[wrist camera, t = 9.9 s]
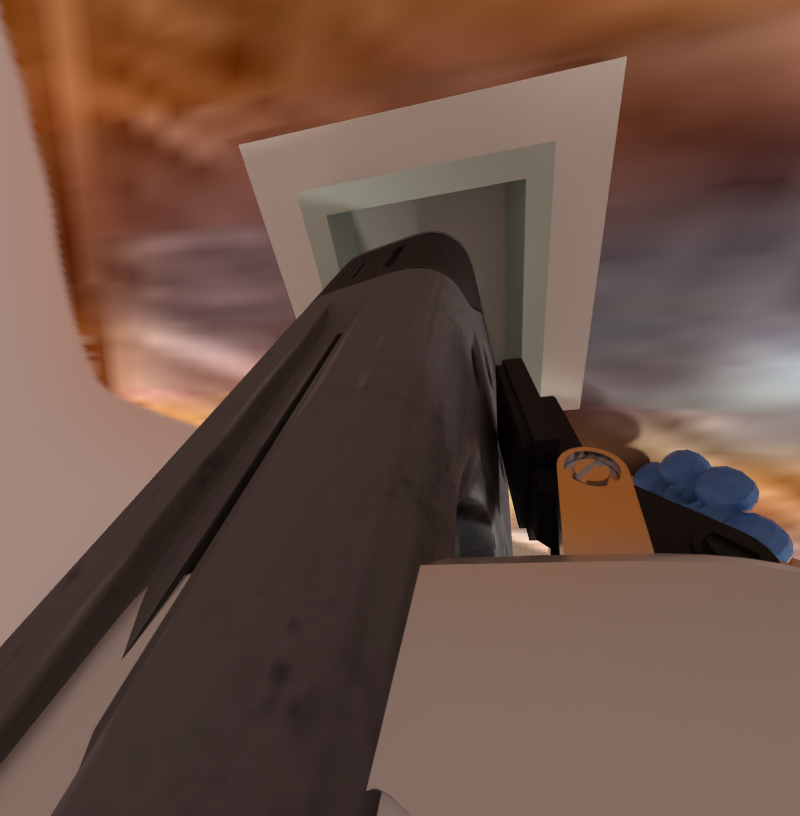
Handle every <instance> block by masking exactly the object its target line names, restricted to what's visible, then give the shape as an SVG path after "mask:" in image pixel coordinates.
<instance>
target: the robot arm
mask: <svg viewBox="0 0 800 816" xmlns="http://www.w3.org/2000/svg"><path fill="white" fill-rule="evenodd" d="M496 405H497V438H498V444H499V448H500V453H501V457H502V461H503V465H504V469H505V473H506V477H507V481H508V485H509V489H510V494H511V498H512V502H513V506H514V510H515V514H516V518H517V522H518V526H519V528H526V529H527V533H528V537H529V540H538V541H539V542H541V543H543V544H544V545H546V546H547V547H549V549H548V555H540V556H503V557H467V558H445V559H442V560H438V561H435V562H432V563H428V564H424V565H420V569H419V573H418V577H417V581H416V585H415V589H414V593H413V598H412V602H411V606H410V610H409V614H408V618H407V623H406V627H405V631H404V635H403V639H402V643H401V647H400V651H399V656H398V660H397V664H396V668H395V672H394V676H393V680H392V685H391V689H390V693H389V697H388V702H387V706H386V710H385V715H384V719H383V723H382V727H381V732H380V736H379V740H378V744H377V748H376V752H375V756H374V760H373V764H372V769H371V773H370V777H369V781H368V785H367V789H366V791H370V790H375V791H378V792H381V797H380V802H379V807H378V812H377V816H800V560H797V559H794V558H792V559H791V560H790V562H789V563H786V562H784V561H781V560H779V559H778V558H777V557H776V556H775V555H774V554H773V553H772V552H771V550H770V549H769V548H768V547H766V546H765V545H764V544H762V543H761V542H760V541H758V540H757V539H756V538H754V537H752V536H750V535H748V534H746V533H744V532H742V531H740V530H738V529H736V528H733V527H731V526H729V525H726V524H724V523H722V522H719V521H717V520H715V519H712V518H710V517H708V516H705V515H703V514H701V513H698V512H696V511H694V510H691V509H689V508H687V507H684V506H682V505H680V504H677V503H675V502H673V501H671V500H668V499H666V498H664V497H661V496H659V495H657V494H654V493H652V492H650V491H647V490H645V489H643V488H640V487H638V486H636V485H633V481H632V478H631V475H630V472H629V469H628V468H627V466H626V464H625V463H624V462H623V461H622V460H621V459H620V458H619V457H618V456H616V455H614V454H612V453H610V452H608V451H605V450H602V449H599V448H593V447H583V446H582V445H581V443H580V441H579V439H578V437H577V435H576V434H575V432H574V430H573V428H572V426H571V425H570V423H569V421H568V419H567V417H566V415H565V414H564V412H563V410H562V408H561V406H560V404H559V403H558V401H557V399H556V398H555V396H545V397H540V395H539V393H538V391H537V389H536V387H535V384H534V382H533V380H532V378H531V376H530V374H529V372H528V370H527V368H526V366H525V364H524V362H523V360H522V358H514V359H505V360H502V365H496ZM192 573H193V572H192ZM192 573H189V574H186V575H184V576H183V578H182V579H181V581H180V582H179V583H178V585H177V586H176V588H175V589H174V590H173V592H172V593H171V594H170V596H169V597H168V599H167V600H166V601H165V603H164V604H163V606H162V607H161V608H160V610H159V611H158V612H157V614H156V615H155V617H154V618H153V619H152V621H151V622H150V624H149V625H148V626H147V628H146V629H145V630H144V632H143V633H142V635H141V636H140V637H139V639H138V640H137V642H136V643H135V644H134V646H133V647H132V648H131V649H130V651H129V652H128V653H127V654H126V655H125V657H124V658H123V659H122V657H123V654H124V652H125V649H126V646H127V643H128V640H129V637H130V634H131V631H132V628H133V626H134V623H135V620H136V617H137V614H138V611H139V608H140V605H141V603H142V600H143V598H144V595H145V593H146V591H147V588H148V587H147V588H146V589H145V590H144V591H143V592H142V593H141V594H140V595H139V596H138V597H136V598H135V599H134V600H133V602H132V603H131V604H130V605H129V606H128V607H127V608H126V610H125V611H124V612H123V613H122V614H121V616H120V617H119V618H118V619H117V621H116V622H115V623H114V624H113V625H112V627H111V628H110V629H109V630H108V631H107V633H106V634H105V635H104V636H103V638H102V639H101V640H100V641H99V642H98V644H97V645H96V646H95V647H94V649H93V650H92V651H91V652H90V654H89V655H88V656H87V657H86V659H85V660H84V661H83V662H82V664H81V665H80V666H79V667H78V669H77V670H76V671H75V672H74V674H73V675H72V676H71V677H70V679H69V680H68V681H67V682H66V684H65V685H64V686H63V687H62V688H61V690H60V691H59V692H58V693H57V695H56V696H55V697H54V698H53V700H52V701H51V702H50V703H49V705H48V706H47V707H46V708H45V710H44V711H43V712H42V713H41V715H40V716H39V717H38V718H37V720H36V721H35V722H34V723H33V725H32V726H31V727H30V728H29V730H28V731H27V732H26V733H25V734H24V736H23V737H22V738H21V739H20V741H19V742H18V743H17V744H16V746H15V747H14V748H13V749H12V751H11V752H10V753H9V754H8V756H7V757H6V758H5V759H4V761H3V762H2V763H1V764H0V816H51V814H52V813H53V811H54V809H55V808H56V806H57V805H58V803H59V801H60V800H61V798H62V796H63V795H64V793H65V791H66V790H67V788H68V787H69V785H70V783H71V782H72V780H73V778H74V777H75V775H76V774H77V772H78V770H79V767H80V765H81V762H82V760H83V757H84V754H85V752H86V749H87V747H88V744H89V741H90V739H91V736H92V734H93V731H94V729H95V727H96V726H97V724H98V723H99V721H100V719H101V718H102V716H103V714H104V713H105V711H106V710H107V708H108V706H109V705H110V703H111V702H112V700H113V698H114V697H115V695H116V693H117V692H118V690H119V689H120V687H121V685H122V684H123V682H124V681H125V679H126V677H127V676H128V674H129V673H130V671H131V670H132V668H133V666H134V665H135V663H136V662H137V660H138V658H139V657H140V655H141V654H142V652H143V650H144V649H145V647H146V646H147V644H148V642H149V641H150V639H151V638H152V636H153V635H154V633H155V631H156V630H157V628H158V627H159V625H160V623H161V622H162V620H163V619H164V617H165V615H166V614H167V612H168V611H169V609H170V608H171V606H172V604H173V603H174V601H175V600H176V598H177V596H178V595H179V593H180V592H181V590H182V588H183V587H184V585H185V584H186V582H187V580H188V579H189V577H190V576H191V574H192Z"/></svg>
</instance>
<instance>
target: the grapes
mask: <svg viewBox="0 0 800 816" xmlns="http://www.w3.org/2000/svg"><path fill="white" fill-rule="evenodd" d="M633 481H634V483H635V485H636V486H638V487H640V488H643V489H645V490H647V491H650V492H652V493H654V494H657V495H659V496H661V497H664V498H666V499H668V500H671V501H673V502H675V503H677V504H680V505H682V506H684V507H687V508H689V509H691V510H694V511H696V512H698V513H701V514H703V515H705V516H708V517H710V518H712V519H715V520H717V521H719V522H722V523H724V524H726V525H729V526H731V527H733V528H736V529H738V530H740V531H742V532H744V533H746V534H748V535H750V536H752V537H754V538H756V539H757V540H758V541H760V542H761V543H762V544H764V545H765V546H766V547H768V548H769V549H770V550H771V552H772V553H773V554H774V555H775V556H776V557H777V558H778V559H779V560H781V561H784V562H787V561H788V559H789V558H790V557H791V555H792V554H793V543H792V541H791V539H790V537H789V535H788V534H787V533H786V532H785V531H784V530H783V529H782V528H781V527H780V526H779V525H777V524H776V523H775V522H774V521H773V520H771V519H768V518H766V517H763V516H761V515H759V514H756V513H746V512H748V511H751V510H752V508H753V507H754V506H755V504H756V503H757V502H758V498H759V490H758V488H757V486H756V484H755V482H754V481H753V480H751V479H750V478H749V477H748V476H747V475H745V474H744V473H743V472H742V471H739V470H736V469H733V468H731V467H728V466H720V467H711V466H710V464H709V462H708V461H707V460H706V459H705V458H704V457H702V456H701V455H700V454H698V453H696V452H693V451H690V450H677V451H674V452H672V453H670V454H669V455H667V456H666V457H665V458H664V459H663V461H662V462H661V463H659V462H648V463H646V464H644V465H643V466H641V467H640V468H639V469H638V470H637V471H636V473H635V475H634V477H633Z"/></svg>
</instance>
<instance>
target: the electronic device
mask: <svg viewBox="0 0 800 816" xmlns="http://www.w3.org/2000/svg"><path fill="white" fill-rule="evenodd" d="M503 556H513V552H512V536H511V522H510V508H509V494H508V481H507V477H506V473H505V469H504V465H503V461H502V457H501V453H500V448H499V444H498V438H497V405H496V362H495V358H494V353H493V349H492V345H491V341H490V336H489V332H488V328H487V323H486V319H485V315H484V311H483V306H482V302H481V298H480V294H479V289H478V285H477V281H476V277H475V272H474V268H473V264H472V262H471V259H470V256H469V254H468V252H467V250H466V248H465V247H464V245H463V244H462V243H461V242H460V241H459V240H458V239H457V238H455V237H454V236H452V235H451V234H449V233H446V232H443V231H439V230H429V231H423V232H420V233H416V234H413V235H410V236H407V237H405V238H402V239H399V240H396V241H393V242H391V243H388V244H385V245H382V246H380V247H377V248H374V249H371V250H368V251H366V252H363V253H361V254H359V255H357V256H355V257H354V258H352V259H351V260H350V261H349V262H348V263H347V264H346V265H345V266H344V267H343V268H342V269H341V270H340V272H339V273H338V274H337V275H336V276H335V277H334V278H333V279H332V280H331V281H330V283H329V284H328V285H327V286H326V287H325V288H324V289H323V290H322V291H321V293H320V294H319V295H318V296H317V297H316V298H315V299H314V300H313V301H312V302H311V304H310V305H309V306H308V307H307V308H306V309H305V311H304V312H303V313H302V314H301V315H300V316H299V317H298V318H297V319H296V320H295V322H294V323H293V324H292V325H291V326H290V327H289V328H288V329H287V330H286V332H285V333H284V334H283V335H282V336H281V337H280V338H279V339H278V340H277V341H276V343H275V344H274V345H273V346H272V347H271V348H270V349H269V350H268V351H267V352H266V354H265V355H264V356H263V357H262V358H261V359H260V360H259V361H258V362H257V364H256V365H255V366H254V367H253V368H252V369H251V370H250V371H249V372H248V374H247V375H246V376H245V377H244V378H243V379H242V380H241V381H240V382H239V383H238V385H237V386H236V387H235V388H234V389H233V390H232V391H231V392H230V393H229V395H228V396H227V397H226V398H225V399H224V400H223V401H222V402H221V403H220V405H219V406H218V407H217V408H216V409H215V410H214V411H213V412H212V413H211V414H210V416H209V417H208V418H207V419H206V420H205V421H204V422H203V423H202V424H201V426H200V427H199V428H198V429H197V430H196V431H195V432H194V433H193V434H192V435H191V437H190V438H189V439H188V440H187V441H186V442H185V443H184V444H183V445H182V447H181V448H180V449H179V450H178V451H177V452H176V453H175V454H174V455H173V457H172V458H171V459H170V460H169V461H168V462H167V463H166V464H165V465H164V467H163V468H162V469H161V470H160V471H159V472H158V473H157V474H156V475H155V477H154V478H153V479H152V480H151V481H150V482H149V483H148V484H147V485H146V486H145V488H144V489H143V490H142V491H141V492H140V493H139V494H138V495H137V496H136V497H135V499H134V500H133V501H132V502H131V503H130V504H129V505H128V507H127V508H126V509H125V510H124V511H123V512H122V513H121V514H120V515H119V516H118V517H117V518H116V520H115V521H114V522H113V523H112V524H111V525H110V526H109V527H108V528H107V530H106V531H105V532H104V533H103V534H102V535H101V536H100V537H99V539H98V540H97V541H96V542H95V543H94V544H93V545H92V546H91V547H90V548H89V550H88V551H87V552H86V553H85V554H84V555H83V556H82V558H80V559H79V561H78V562H77V563H76V564H75V565H74V566H73V567H72V568H71V569H70V570H69V572H68V573H67V574H66V575H65V576H64V577H63V578H62V579H61V581H60V582H59V583H58V584H57V585H56V586H55V587H54V589H52V591H51V592H50V593H49V594H48V595H47V596H46V597H45V598H44V599H43V600H42V601H41V603H40V604H39V605H38V606H37V607H36V608H35V609H34V611H32V613H31V614H30V615H29V616H28V617H27V618H26V619H25V620H24V621H23V623H22V624H21V625H20V626H19V627H18V628H17V629H16V630H15V632H13V634H12V635H11V636H10V637H9V638H8V639H7V640H6V641H5V642H4V644H3V645H2V646H1V647H0V764H1V763H2V762H3V761H4V759H5V758H6V757H7V756H8V754H9V753H10V752H11V751H12V749H13V748H14V747H15V746H16V744H17V743H18V742H19V741H20V739H21V738H22V737H23V736H24V734H25V733H26V732H27V731H28V730H29V728H30V727H31V726H32V725H33V723H34V722H35V721H36V720H37V718H38V717H39V716H40V715H41V713H42V712H43V711H44V710H45V708H46V707H47V706H48V705H49V703H50V702H51V701H52V700H53V698H54V697H55V696H56V695H57V693H58V692H59V691H60V690H61V688H62V687H63V686H64V685H65V684H66V682H67V681H68V680H69V679H70V677H71V676H72V675H73V674H74V672H75V671H76V670H77V669H78V667H79V666H80V665H81V664H82V662H83V661H84V660H85V659H86V657H87V656H88V655H89V654H90V652H91V651H92V650H93V649H94V647H95V646H96V645H97V644H98V642H99V641H100V640H101V639H102V638H103V636H104V635H105V634H106V633H107V631H108V630H109V629H110V628H111V627H112V625H113V624H114V623H115V622H116V621H117V619H118V618H119V617H120V616H121V614H122V613H123V612H124V611H125V610H126V608H127V607H128V606H129V605H130V604H131V603H132V602H133V600H134V599H135V598H136V597H138V596H139V595H140V594H141V593H142V592H143V591H144V590H145V589H146V588H147V587H148V588H147V591H146V593H145V595H144V598H143V600H142V603H141V605H140V608H139V611H138V614H137V617H136V620H135V623H134V626H133V628H132V631H131V634H130V637H129V640H128V643H127V646H126V649H125V652H124V654H123V657H122V659H123V658H124V657H125V655H126V654H127V653H128V652H129V651H130V649H131V648H132V647H133V646H134V644H135V643H136V642H137V640H138V639H139V637H140V636H141V635H142V633H143V632H144V630H145V629H146V628H147V626H148V625H149V624H150V622H151V621H152V619H153V618H154V617H155V615H156V614H157V612H158V611H159V610H160V608H161V607H162V606H163V604H164V603H165V601H166V600H167V599H168V597H169V596H170V594H171V593H172V592H173V590H174V589H175V588H176V586H177V585H178V583H179V582H180V581H181V579H182V578H183V576H184V575H186V574H189V573H192V572H193V573H192V574H191V576H190V577H189V579H188V580H187V582H186V584H185V585H184V587H183V588H182V590H181V592H180V593H179V595H178V596H177V598H176V600H175V601H174V603H173V604H172V606H171V608H170V609H169V611H168V612H167V614H166V615H165V617H164V619H163V620H162V622H161V623H160V625H159V627H158V628H157V630H156V631H155V633H154V635H153V636H152V638H151V639H150V641H149V642H148V644H147V646H146V647H145V649H144V650H143V652H142V654H141V655H140V657H139V658H138V660H137V662H136V663H135V665H134V666H133V668H132V670H131V671H130V673H129V674H128V676H127V677H126V679H125V681H124V682H123V684H122V685H121V687H120V689H119V690H118V692H117V693H116V695H115V697H114V698H113V700H112V702H111V703H110V705H109V706H108V708H107V710H106V711H105V713H104V714H103V716H102V718H101V719H100V721H99V723H98V724H97V726H96V727H95V729H94V731H93V734H92V736H91V739H90V741H89V744H88V747H87V749H86V752H85V754H84V757H83V760H82V762H81V765H80V767H79V770H78V772H77V774H76V775H75V777H74V778H73V780H72V782H71V783H70V785H69V787H68V788H67V790H66V791H65V793H64V795H63V796H62V798H61V800H60V801H59V803H58V805H57V806H56V808H55V809H54V811H53V813H52V814H51V816H377V812H378V807H379V802H380V797H381V792H378V791H375V790H370V791H366V789H367V785H368V781H369V777H370V773H371V769H372V764H373V760H374V756H375V752H376V748H377V744H378V740H379V736H380V732H381V727H382V723H383V719H384V715H385V710H386V706H387V702H388V697H389V693H390V689H391V685H392V680H393V676H394V672H395V668H396V664H397V660H398V656H399V651H400V647H401V643H402V639H403V635H404V631H405V627H406V623H407V618H408V614H409V610H410V606H411V602H412V598H413V593H414V589H415V585H416V581H417V577H418V573H419V569H420V565H424V564H428V563H432V562H435V561H438V560H442V559H445V558H467V557H503Z"/></svg>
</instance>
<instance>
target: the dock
mask: <svg viewBox="0 0 800 816" xmlns="http://www.w3.org/2000/svg"><path fill="white" fill-rule="evenodd" d="M626 61H627V56H625V57H621V58H616V59H612V60H608V61H603V62H599V63H595V64H590V65H586V66H581V67H577V68H573V69H568V70H564V71H560V72H555V73H551V74H546V75H542V76H538V77H533V78H529V79H525V80H520V81H516V82H512V83H507V84H503V85H498V86H494V87H490V88H485V89H481V90H477V91H472V92H468V93H463V94H459V95H455V96H450V97H446V98H442V99H437V100H433V101H428V102H424V103H420V104H415V105H411V106H407V107H402V108H398V109H393V110H389V111H385V112H380V113H376V114H372V115H367V116H363V117H358V118H354V119H350V120H345V121H341V122H337V123H332V124H328V125H324V126H319V127H315V128H310V129H306V130H302V131H297V132H293V133H289V134H284V135H280V136H275V137H271V138H267V139H262V140H258V141H254V142H249V143H245V144H240V145H239V148H240V151H241V154H242V157H243V160H244V163H245V166H246V169H247V172H248V175H249V178H250V182H251V185H252V188H253V191H254V194H255V197H256V200H257V203H258V206H259V209H260V212H261V215H262V218H263V221H264V224H265V227H266V230H267V233H268V236H269V239H270V242H271V245H272V248H273V251H274V254H275V257H276V260H277V263H278V266H279V269H280V272H281V275H282V278H283V281H284V284H285V287H286V290H287V293H288V296H289V299H290V302H291V305H292V308H293V311H294V314H295V317H296V319H297V318H298V317H299V316H300V315H301V314H302V313H303V312H304V311H305V309H306V308H307V307H308V306H309V305H310V304H311V302H312V301H313V300H314V299H315V298H316V297H317V296H318V295H319V294H320V293H321V291H322V290H323V289H324V288H325V287H326V286H327V285H328V284H329V283H330V281H331V280H332V279H333V278H334V277H335V276H336V275H337V274H338V273H339V272H340V270H341V269H342V268H343V267H344V266H345V265H346V264H347V263H348V262H349V261H350V260H351V259H352V258H354V257H355V256H357V255H359V254H361V253H363V252H366V251H368V250H371V249H374V248H377V247H380V246H382V245H385V244H388V243H391V242H393V241H396V240H399V239H402V238H405V237H407V236H410V235H413V234H416V233H420V232H423V231H429V230H439V231H443V232H446V233H449V234H451V235H452V236H454V237H455V238H457V239H458V240H459V241H460V242H461V243H462V244H463V245H464V247H465V248H466V250H467V252H468V254H469V256H470V259H471V262H472V264H473V268H474V272H475V277H476V281H477V285H478V289H479V294H480V298H481V302H482V306H483V311H484V315H485V319H486V323H487V328H488V332H489V336H490V341H491V345H492V349H493V353H494V358H495V362H496V365H502V360H505V359H514V358H522V360H523V362H524V364H525V366H526V368H527V370H528V372H529V374H530V376H531V378H532V380H533V382H534V384H535V387H536V389H537V391H538V393H539V395H540V397H545V396H555V398H556V399H557V401H558V403H559V404H560V406H561V408H562V410H575V409H580V403H581V395H582V388H583V380H584V373H585V366H586V358H587V351H588V343H589V336H590V328H591V321H592V314H593V306H594V299H595V291H596V284H597V276H598V269H599V261H600V254H601V247H602V239H603V232H604V224H605V217H606V209H607V202H608V195H609V187H610V180H611V172H612V165H613V157H614V150H615V142H616V135H617V128H618V120H619V113H620V105H621V98H622V90H623V83H624V76H625V68H626Z"/></svg>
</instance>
